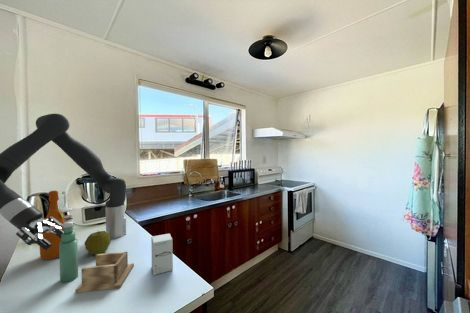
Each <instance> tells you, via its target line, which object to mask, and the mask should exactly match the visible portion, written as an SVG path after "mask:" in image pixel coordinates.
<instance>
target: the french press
mask: <svg viewBox="0 0 470 313" xmlns="http://www.w3.org/2000/svg"><path fill="white" fill-rule="evenodd" d="M61 194H63V195H65V194H67V192H66V191H62V192H61ZM59 209H60V210H59V212H61V211H62V212H63V214H64V216H65V217H64V220H65V222H69V221H73V222H74V220H73V215H71V214H69V215H67V214H66V215H65V213H68V212H71V211H73V210H74V208H71V207H67V206H65V204H63V207H61V208H59ZM73 231H75V232H76V230H74V229H73Z"/></svg>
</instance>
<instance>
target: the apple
mask: <svg viewBox="0 0 470 313" xmlns="http://www.w3.org/2000/svg"><path fill="white" fill-rule="evenodd" d="M110 243H111V238H110V236H109V234H108V233H107V232H106V230H100V231H99V230H98V231H95V232H92V233H90V234H89V235H88V236H87V237H86V239H85V241H84V247H85V250H86V251H87V253H88V254H89V255H93V256H96V255H97V254H104V253H105V252H106V251H107V250H108V249H109V247H110Z"/></svg>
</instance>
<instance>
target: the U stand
mask: <svg viewBox="0 0 470 313" xmlns="http://www.w3.org/2000/svg"><path fill="white" fill-rule="evenodd" d="M128 256H129V255H128V251H119V252H106V253H105V252H103V253H102V254H97V255H95V265H92V266H83V267H81V283H80V284H79V285H78V286H77V287H76V288H75V289H74V290H75V291H74V292H75V294H77V293H85V292H86V293H87V292H94V291H95V292H96V291H103V290H105V291H106V290H112V289H113V290H114V289H120V288H122V286H123V284H124V283H125V281H126V279H127V278H128V277H129V275H130V274H131V271H132V270H133V268H134V266H135V263H129V262H128V258H129V257H128Z"/></svg>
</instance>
